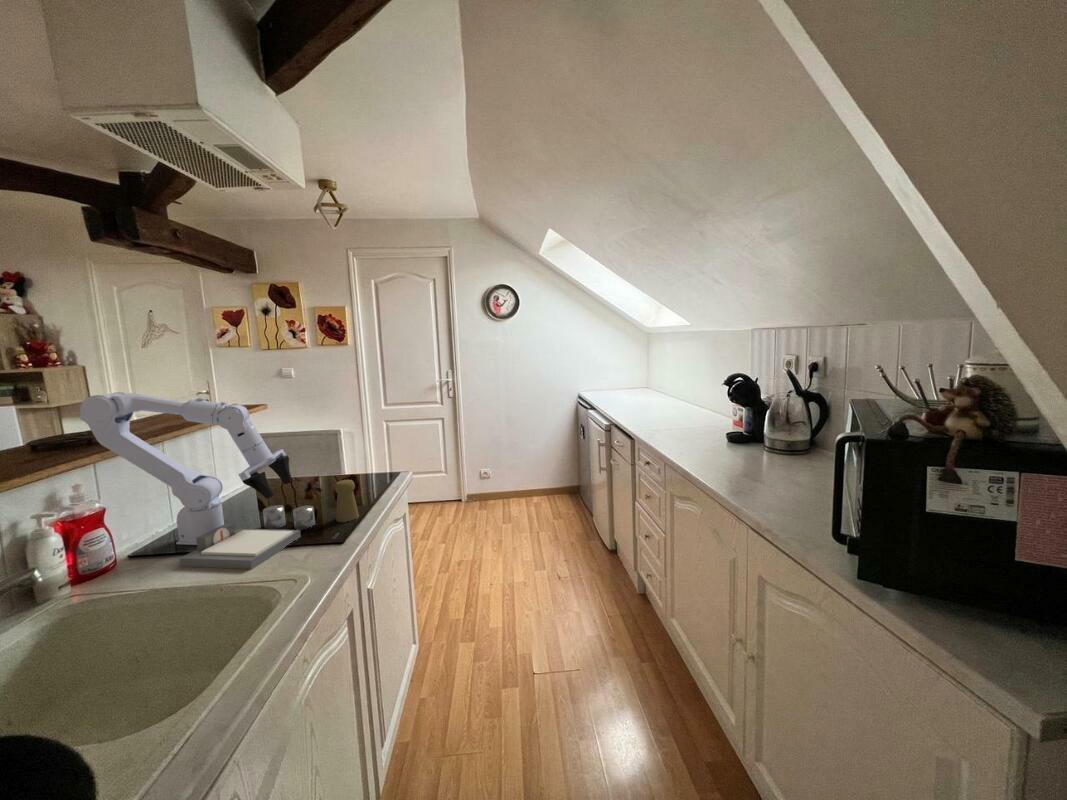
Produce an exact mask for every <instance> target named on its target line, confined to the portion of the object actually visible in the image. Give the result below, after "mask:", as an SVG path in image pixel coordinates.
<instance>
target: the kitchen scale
mask: <svg viewBox="0 0 1067 800" xmlns="http://www.w3.org/2000/svg"><path fill="white" fill-rule="evenodd" d="M300 537H301V538H302V535H301V530H295V529H265V528H260V529H259V528H236V529H235V525H234V523H224V525H222V526H220V527H218V528H216V529H213V530H211V531H209V532H207V533H205V534H203V535H201V536H199V537H197V538H196V541H197V545H196V546H197V549H195V550H193V551H191V552H189V553H187V554H185V555H183V556H180V557H179V564H180V565H179V566H180V567H181V568H182V567H184V568H185V567H187V568H206V567H215V568H214V569H233V568H236V569H237V568H238V569H237V570H253V569H255V568H256V567H258V566H259V565H261V564H262V563H264V562H266V561H267V560H269V559H270V558H271V557H273V556H275V555H276V554H278V553H279V552H281V551H282V550H285V547H286V546H287V545H289V544H290V543H292V542H293V541H295V540H296V541H298V540H299V539H298V538H300ZM301 538H300V539H301ZM297 539H298V540H297ZM296 541H295V542H296ZM293 543H294V542H293ZM293 543H292V544H293ZM290 545H291V544H290ZM290 545H289V546H290ZM287 547H288V546H287ZM287 547H286V548H287Z"/></svg>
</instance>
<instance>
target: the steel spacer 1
mask: <svg viewBox="0 0 1067 800" xmlns="http://www.w3.org/2000/svg"><path fill="white" fill-rule="evenodd" d="M285 513H286V512H285V506H284V505H283V504H277V505H276V504H275V505H271V506H268V507H265V508H264V509H262V515H263V523H264V529H273V530H277V529H279V528H283V527H284V526H285V525H286V522H287V521H286V515H285Z"/></svg>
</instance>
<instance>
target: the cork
mask: <svg viewBox="0 0 1067 800" xmlns="http://www.w3.org/2000/svg"><path fill="white" fill-rule="evenodd" d="M355 487H356V486H355V482H354V480H352V479H343V480H339V481H337V482H336V483H335V485H334V491H335V493H337V496H336V497H337V498H336V518H335V520H336V522H338V523H348V522H347V521H349V522H352V521H351V520H353V521H355V520H354V519H356V520H357V519H359V517H360V514H359V509H358V507H357V501H356V498H355V494H354V490H355V489H356V488H355Z"/></svg>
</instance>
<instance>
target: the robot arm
mask: <svg viewBox="0 0 1067 800" xmlns="http://www.w3.org/2000/svg"><path fill="white" fill-rule="evenodd" d="M143 411H144V412H152V413H159V414H160V413H161V414H170V415H177V416H182V417H183V419H185V421H187V422H191V423H199V424H206V425H207V424H208V425H211V426H212V425H213V426H220V427H221V428H222V429H224V430H227V432H228V434H229V435H230V437H231V438H232V440H233V442H234V444H235V446H237V448H238V450H239V451H240V453H241V454H242V456H243V458H244V460H245V461H246V463H247V464H248V465H249V466H248V467H247V468H246V469H244V470H243V471H241V472H240V473H238V475H237V476H239V478H240V480H241V481H242V483H243V484H244V485H247V486H249V487H251V488H252V489H254V490H255V491H257V492H258V493H259V494H260V495H261V496H262V497H264V498H265V499H269V498H272V497H274V492H273V490H272V488H271V486H270V484H269V483H268V479H267V475H266V472H265V471H262V470H263V469H265V468H266V467H269V468H270V469H271V470H272V471H274V473H275V474H276V475H277V476H278V477H279V479H280V480H281V482H282V483H283V484H284V485H289V484H291V483H293V478H292V475H291V471H290V457H289V456H288V455H287V454H286V452H285V451H284V449H283V448H282V449H279V450H276V451H274V452H271V450H270V448H269V447H268V446H267V444H266V443H265V441H264V439H263V438H262V435H261V434H260V432H259V430H258V428H256V426H255V425H254V423H253V422H252V420H251V419H250V412H249V410H248V409H247V407H246V406H244V405H241V404H239V403H232V404H230V405H228V402H227V401H221V402H216V401H211V400H210V401H209V400H206V398H205V397H197V398H192V399H190V400H188V401H186V402H184V401H179V400H173V399H167V398H163V397H158V396H153V395H147V394H141V393H135V392H134V393H133V392H132V393H131V392H130V393H128V392H127V393H125V392H122V391H121V392H113V393H109V394H108V393H107V394H96V395H91V396H88V397H86V398H85V399H83V400H82V402H81V403H80V412H79V419H80V420H81V421H83V422H84V423H85V424H86V425H88V428H89V429H90V431H91V432H92V435H93V436H94V438H95V439H96V442H98V443H99V444H100V445H101V446H103V447H105V449H108V450H109V451H111V452H112V453H114V454H116V455H118V456H119V457H121V458H123V459H125V460H126V461H127V462H129V463H130V464H132V465H135V466H136V467H137V468H140V469H141V470H143V471H144V472H145V473H147V474H149V475H151V476H153V478H156V479H158V480H159V481H160V482H162V483H164V484H166V485H167V486H169V487H170V489H171V493H172V495H173V496H174V497H176V498H177V499H178V500H179V501H180V502H181V504H182V506H184V507H182V508H181V509H180V510H179V511H178V512H177V515H176V526H177V534H178V541H177V542H175V543H176V544H175V545H189V546H190V545H191V546H197V541H196V538H197V537H199V536H201V535H203V534H205V533H207V532H209V531H211V530H213V529H216V528H218V527H220V526H222V525H224V524H225V521H224V520H225V519H224V513H223V506H222V505H223V504H222V499H221V498H220V495H221V494H222V491H223V488H224V487H223V483H222V481H221V480H220V479H219V478H218V477H215V476H212V475H208V474H207V475H206V474H204V473H203V472H201V471H197V470H192V469H188V468H187V467H186V466H184V465H183V464H181V463H180V462H178V461H176V460H175V459H173V458H171V457H170V456H168V455H166V454H165V453H164V452H162V451H160V450H159V449H157V448H156V447H154V446H153V445H151V444H149V443H147V442H146V441H144V440H142V438H140V437H138V436H136V435H135V434H133V433H132V432H131V431H130V428H131V427H130V425H131V423H130V422H131V420H132V417H133V415H134V413H135V412H143ZM260 471H262V472H260Z"/></svg>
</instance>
